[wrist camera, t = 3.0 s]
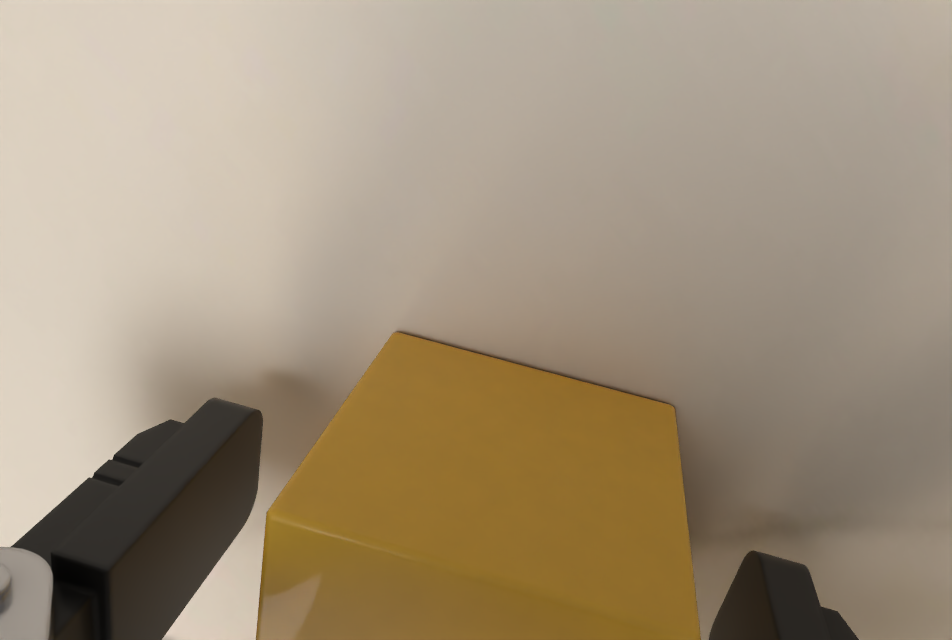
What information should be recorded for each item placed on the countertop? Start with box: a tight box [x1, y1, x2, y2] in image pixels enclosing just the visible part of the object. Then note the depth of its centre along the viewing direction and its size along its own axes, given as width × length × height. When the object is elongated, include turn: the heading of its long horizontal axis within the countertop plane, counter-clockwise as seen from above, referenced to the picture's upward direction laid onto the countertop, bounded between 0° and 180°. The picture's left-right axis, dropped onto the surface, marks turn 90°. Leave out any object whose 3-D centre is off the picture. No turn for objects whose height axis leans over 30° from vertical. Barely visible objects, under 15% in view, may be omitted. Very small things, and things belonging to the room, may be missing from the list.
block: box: [256, 332, 701, 640], centre depth 10 cm, size 4×4×4 cm
